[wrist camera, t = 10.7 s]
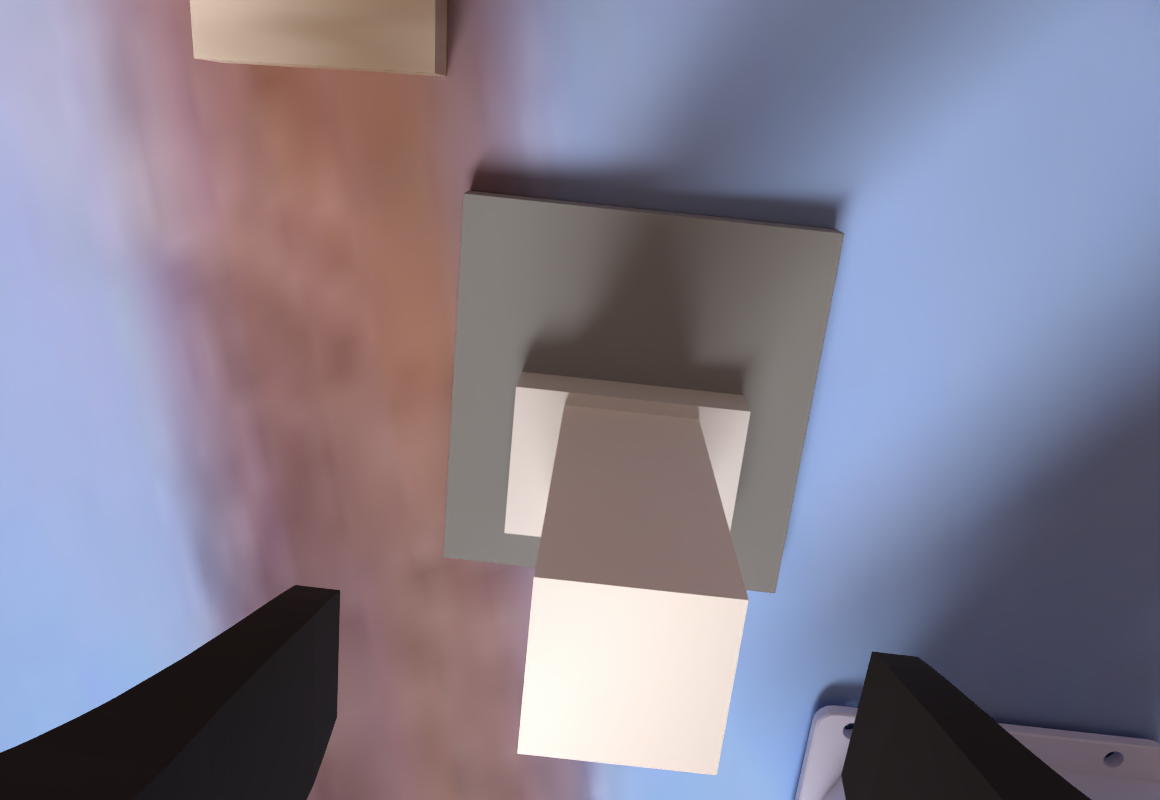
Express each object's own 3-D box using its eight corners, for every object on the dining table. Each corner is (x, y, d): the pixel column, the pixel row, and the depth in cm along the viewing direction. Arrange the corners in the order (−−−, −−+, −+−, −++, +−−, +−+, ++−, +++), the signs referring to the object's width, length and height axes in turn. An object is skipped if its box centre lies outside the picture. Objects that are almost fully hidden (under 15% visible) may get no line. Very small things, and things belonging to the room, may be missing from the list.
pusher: (743, 395, 20) (831, 589, 12) (720, 533, 22) (786, 799, 13) (521, 371, 20) (456, 549, 12) (510, 510, 22) (443, 761, 13)
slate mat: (835, 229, 20) (844, 233, 19) (769, 577, 23) (774, 593, 22) (469, 190, 20) (464, 193, 19) (449, 542, 23) (443, 557, 22)
